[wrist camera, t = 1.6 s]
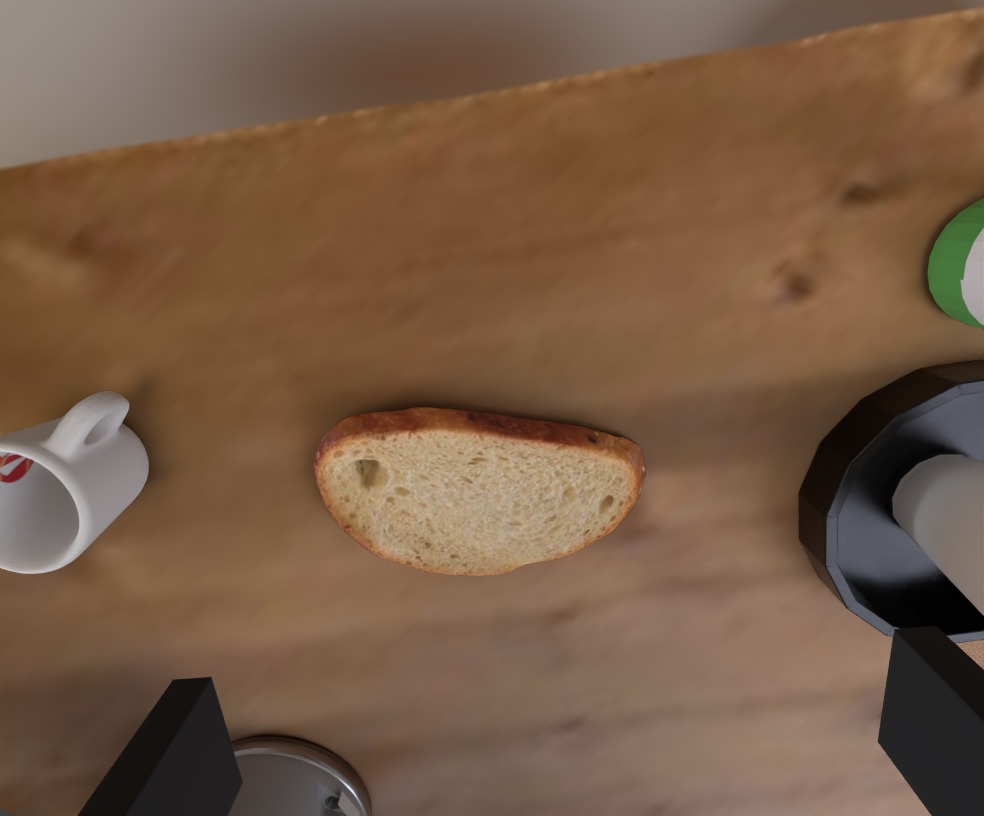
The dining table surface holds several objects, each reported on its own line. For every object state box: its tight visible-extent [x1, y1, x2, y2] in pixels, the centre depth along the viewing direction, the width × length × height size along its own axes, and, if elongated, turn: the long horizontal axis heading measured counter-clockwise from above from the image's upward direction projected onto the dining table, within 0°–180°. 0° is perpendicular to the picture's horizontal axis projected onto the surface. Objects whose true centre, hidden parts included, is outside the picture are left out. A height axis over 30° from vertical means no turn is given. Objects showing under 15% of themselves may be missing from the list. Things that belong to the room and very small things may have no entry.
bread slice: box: [313, 407, 646, 576], centre depth 37 cm, size 18×18×4 cm
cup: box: [0, 391, 149, 573], centre depth 34 cm, size 11×8×8 cm
